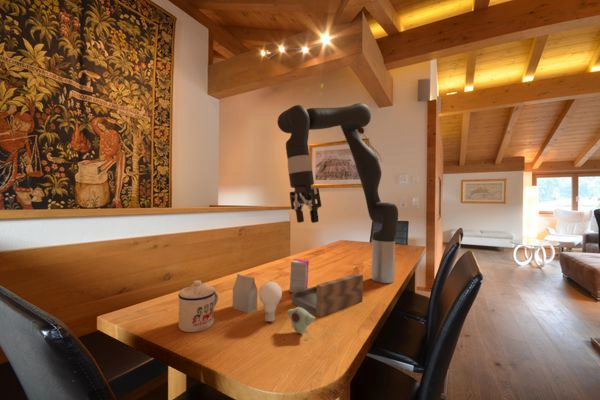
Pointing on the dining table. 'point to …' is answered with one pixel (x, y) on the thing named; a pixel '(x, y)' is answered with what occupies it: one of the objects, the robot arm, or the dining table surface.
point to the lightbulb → (270, 299)
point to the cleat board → (330, 295)
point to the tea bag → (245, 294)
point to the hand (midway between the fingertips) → (307, 222)
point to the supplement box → (299, 275)
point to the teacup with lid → (196, 307)
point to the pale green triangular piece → (300, 319)
